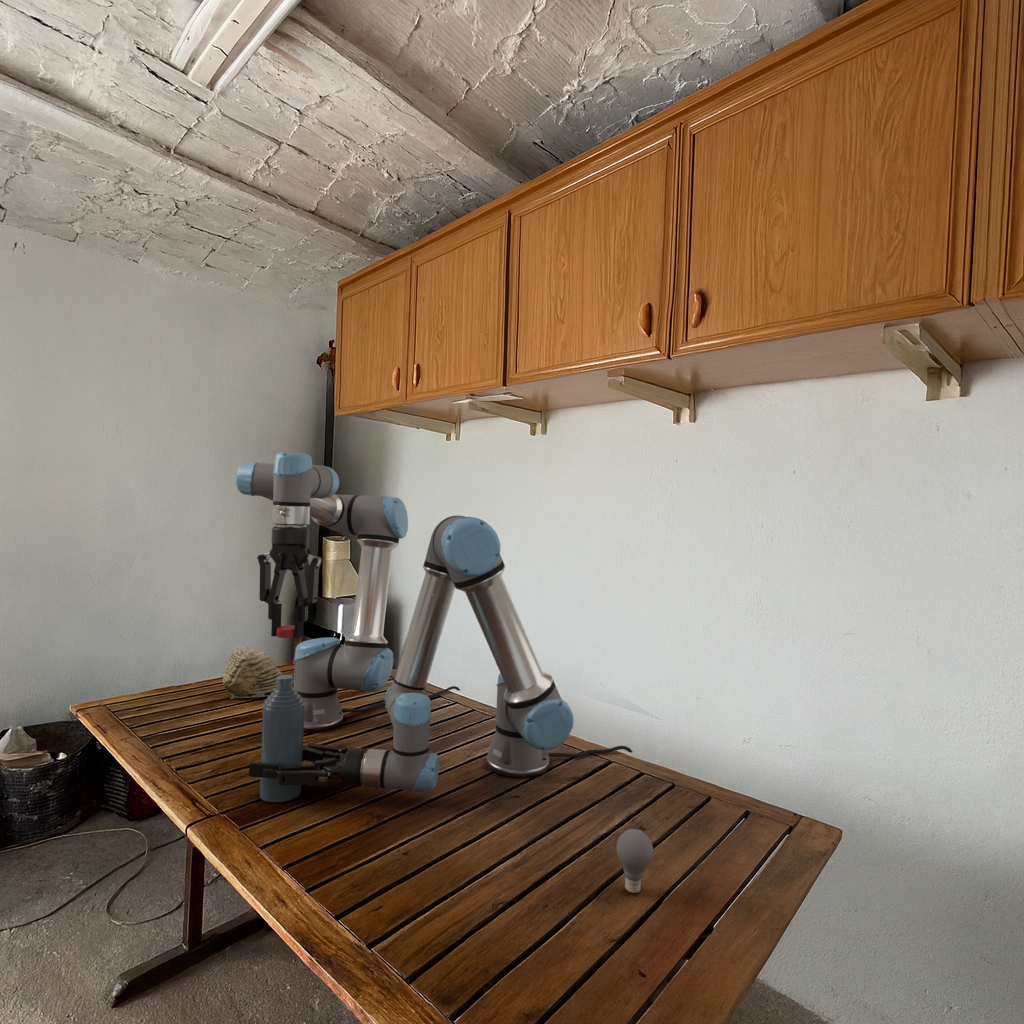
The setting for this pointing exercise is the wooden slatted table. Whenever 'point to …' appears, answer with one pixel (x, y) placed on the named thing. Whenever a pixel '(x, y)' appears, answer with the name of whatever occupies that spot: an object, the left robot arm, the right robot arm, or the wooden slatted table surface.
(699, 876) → the wooden slatted table surface
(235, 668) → the fossil
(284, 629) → the cap
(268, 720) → the bottle
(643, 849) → the light bulb
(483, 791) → the wooden slatted table surface
